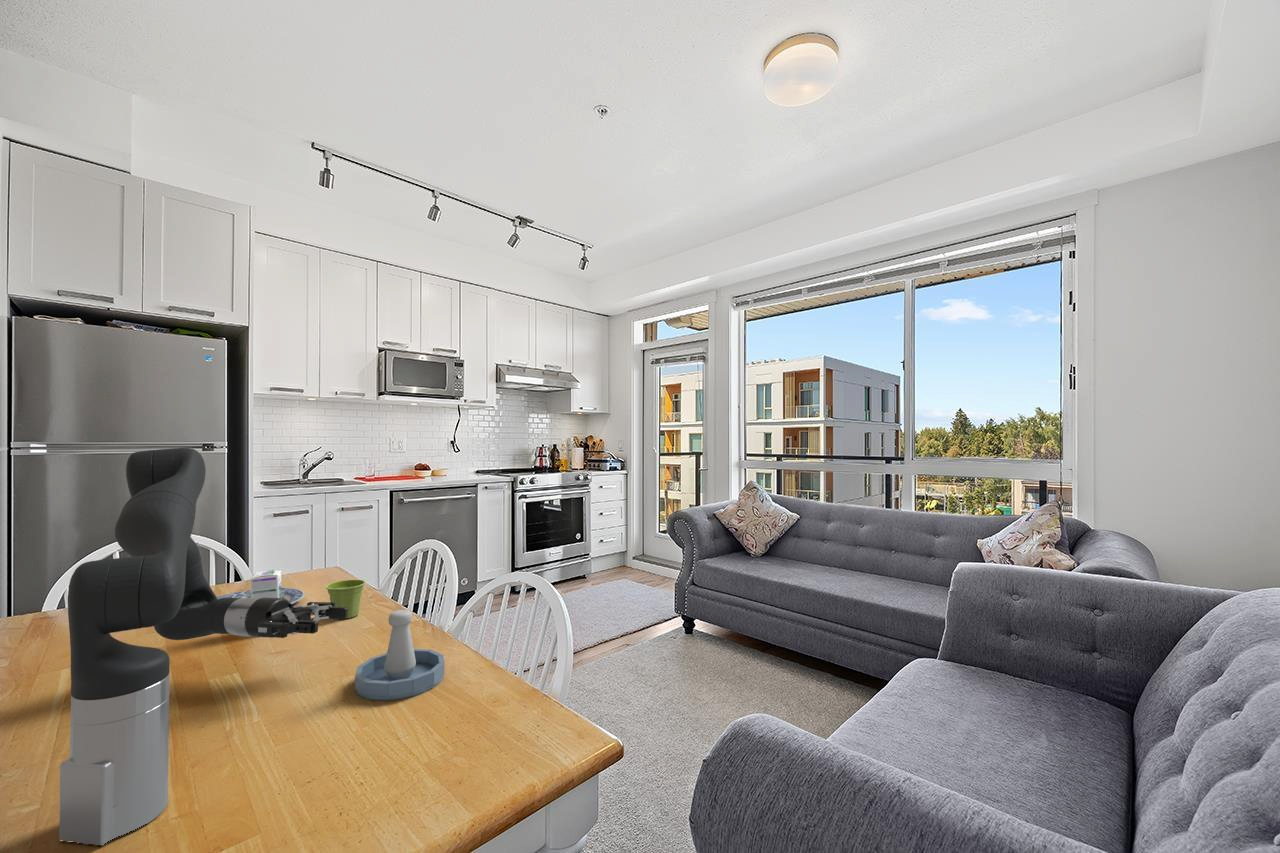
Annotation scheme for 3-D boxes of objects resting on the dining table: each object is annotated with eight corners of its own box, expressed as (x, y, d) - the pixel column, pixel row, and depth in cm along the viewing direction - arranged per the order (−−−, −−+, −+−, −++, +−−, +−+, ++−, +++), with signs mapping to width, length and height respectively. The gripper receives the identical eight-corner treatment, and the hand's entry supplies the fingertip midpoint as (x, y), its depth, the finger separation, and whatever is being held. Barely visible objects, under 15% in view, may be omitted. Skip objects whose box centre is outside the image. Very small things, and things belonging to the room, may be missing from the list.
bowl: (417, 703, 100) (417, 685, 100) (336, 697, 102) (337, 680, 102) (457, 666, 116) (457, 651, 116) (386, 662, 118) (387, 647, 118)
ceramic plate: (195, 632, 136) (195, 620, 136) (188, 607, 155) (188, 597, 155) (313, 609, 154) (313, 599, 154) (294, 590, 173) (294, 580, 173)
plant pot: (317, 620, 144) (317, 587, 144) (345, 609, 153) (346, 578, 153) (345, 623, 142) (345, 590, 142) (373, 612, 151) (373, 580, 151)
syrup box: (279, 633, 135) (279, 574, 135) (249, 637, 132) (250, 576, 132) (281, 626, 140) (282, 568, 140) (253, 629, 137) (254, 571, 137)
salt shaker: (403, 685, 106) (404, 617, 106) (377, 682, 107) (377, 615, 107) (421, 672, 112) (422, 607, 112) (396, 669, 113) (396, 606, 113)
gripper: (228, 608, 104) (306, 611, 102) (286, 588, 118) (355, 590, 116) (227, 649, 104) (305, 652, 102) (285, 623, 118) (355, 626, 116)
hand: (332, 619), depth 109 cm, fingers open, 8 cm apart
